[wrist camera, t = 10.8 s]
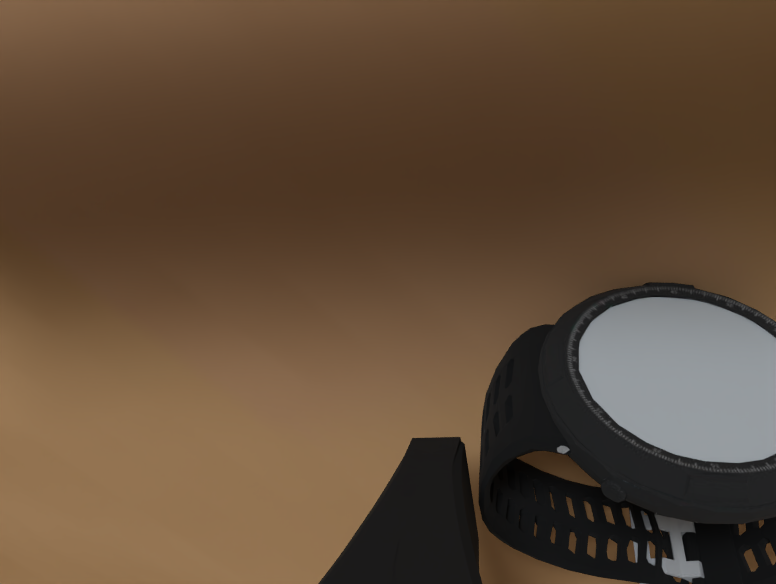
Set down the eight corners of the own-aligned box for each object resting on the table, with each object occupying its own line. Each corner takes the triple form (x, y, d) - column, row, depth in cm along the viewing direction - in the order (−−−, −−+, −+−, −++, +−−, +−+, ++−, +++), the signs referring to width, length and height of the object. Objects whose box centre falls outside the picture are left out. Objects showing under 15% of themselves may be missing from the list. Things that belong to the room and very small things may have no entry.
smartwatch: (473, 275, 12) (814, 244, 11) (508, 541, 14) (810, 541, 12) (435, 391, 8) (956, 363, 7) (490, 742, 10) (925, 771, 8)
